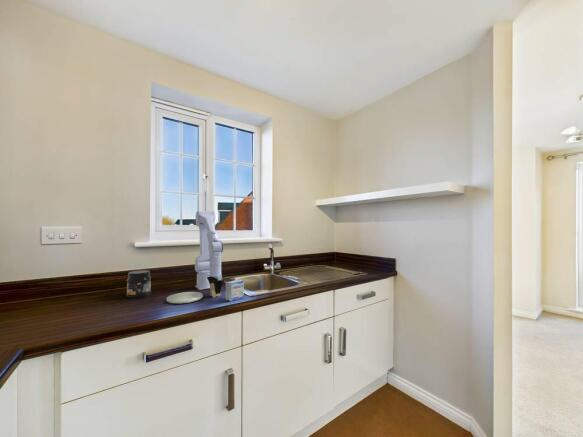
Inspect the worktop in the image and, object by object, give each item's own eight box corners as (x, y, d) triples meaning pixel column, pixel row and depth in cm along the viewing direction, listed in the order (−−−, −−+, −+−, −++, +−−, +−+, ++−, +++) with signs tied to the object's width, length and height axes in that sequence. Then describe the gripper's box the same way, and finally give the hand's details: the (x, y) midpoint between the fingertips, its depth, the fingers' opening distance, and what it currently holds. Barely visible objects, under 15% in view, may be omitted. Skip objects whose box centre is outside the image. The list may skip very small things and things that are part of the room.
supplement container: (122, 296, 123) (122, 272, 124) (143, 291, 133) (143, 269, 133) (134, 299, 118) (134, 274, 119) (155, 294, 128) (155, 271, 128)
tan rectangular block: (210, 295, 125) (210, 283, 125) (217, 294, 127) (218, 282, 128) (212, 297, 122) (212, 285, 122) (220, 296, 124) (220, 284, 124)
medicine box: (231, 302, 115) (231, 283, 115) (225, 300, 117) (225, 282, 118) (244, 298, 121) (244, 280, 121) (238, 296, 124) (238, 279, 124)
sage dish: (164, 298, 120) (164, 295, 120) (198, 293, 130) (198, 290, 130) (169, 307, 107) (169, 303, 107) (206, 300, 116) (206, 297, 116)
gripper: (203, 264, 129) (203, 290, 128) (211, 268, 117) (211, 296, 116) (217, 262, 133) (216, 288, 132) (226, 266, 121) (226, 294, 121)
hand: (215, 292), depth 125 cm, fingers open, 7 cm apart
